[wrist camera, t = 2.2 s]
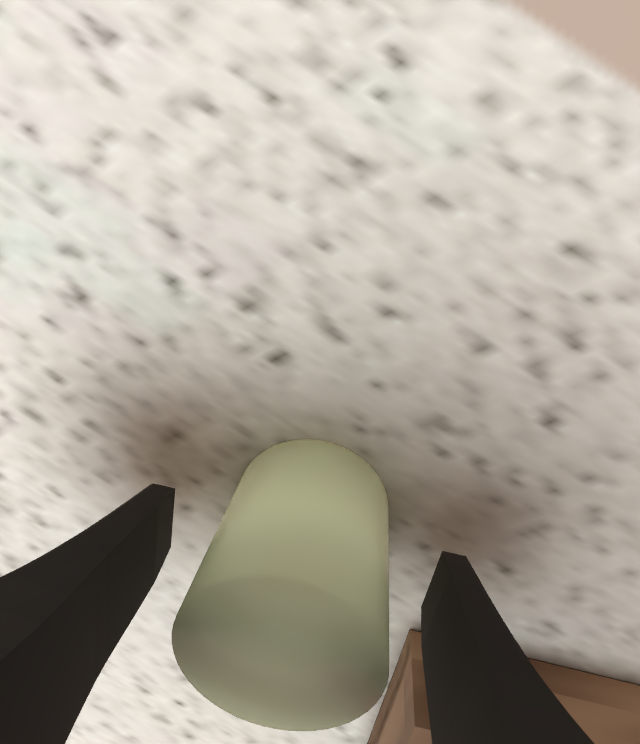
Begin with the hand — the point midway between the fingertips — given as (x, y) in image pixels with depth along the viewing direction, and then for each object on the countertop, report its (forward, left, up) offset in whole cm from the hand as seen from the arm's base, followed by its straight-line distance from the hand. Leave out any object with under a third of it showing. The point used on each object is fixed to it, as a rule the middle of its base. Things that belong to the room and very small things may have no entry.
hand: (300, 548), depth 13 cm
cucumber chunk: (0, 0, -2) cm, 2 cm away
